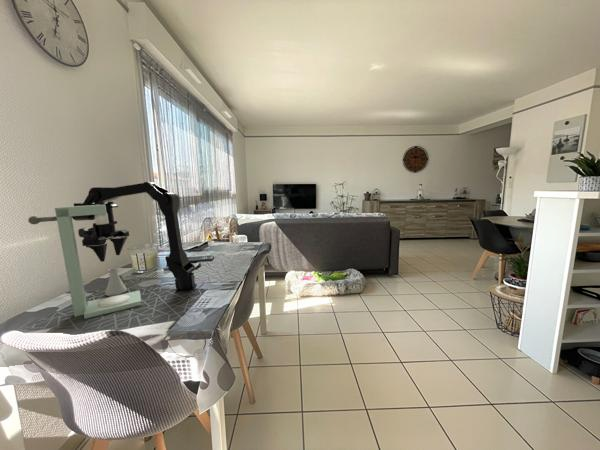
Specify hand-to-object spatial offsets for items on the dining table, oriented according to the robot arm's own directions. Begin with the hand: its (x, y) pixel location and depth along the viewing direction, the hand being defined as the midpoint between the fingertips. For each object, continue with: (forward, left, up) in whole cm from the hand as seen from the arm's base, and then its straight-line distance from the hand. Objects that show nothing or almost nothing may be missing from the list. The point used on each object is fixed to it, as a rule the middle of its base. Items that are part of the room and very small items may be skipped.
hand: (110, 258), depth 102 cm
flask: (0, 0, -15) cm, 15 cm away
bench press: (-3, +14, -15) cm, 21 cm away
